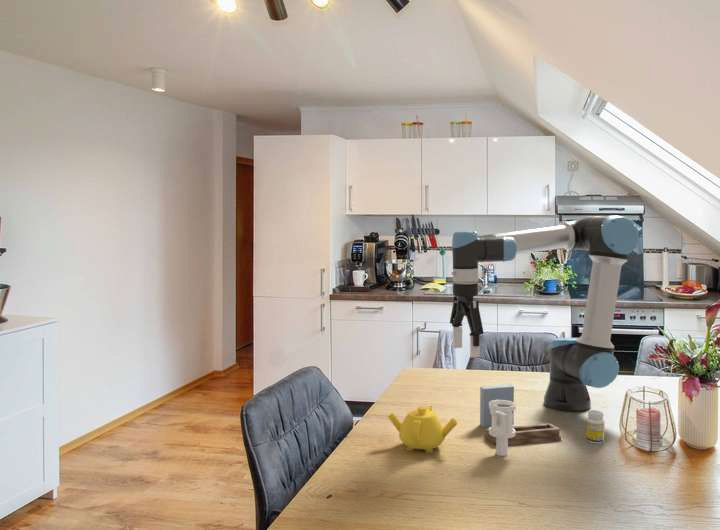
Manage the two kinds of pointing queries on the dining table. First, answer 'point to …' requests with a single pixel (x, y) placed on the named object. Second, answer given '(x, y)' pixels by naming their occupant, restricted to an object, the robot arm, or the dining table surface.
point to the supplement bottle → (595, 427)
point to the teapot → (422, 429)
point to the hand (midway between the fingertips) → (466, 352)
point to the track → (531, 434)
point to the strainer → (502, 424)
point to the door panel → (493, 394)
